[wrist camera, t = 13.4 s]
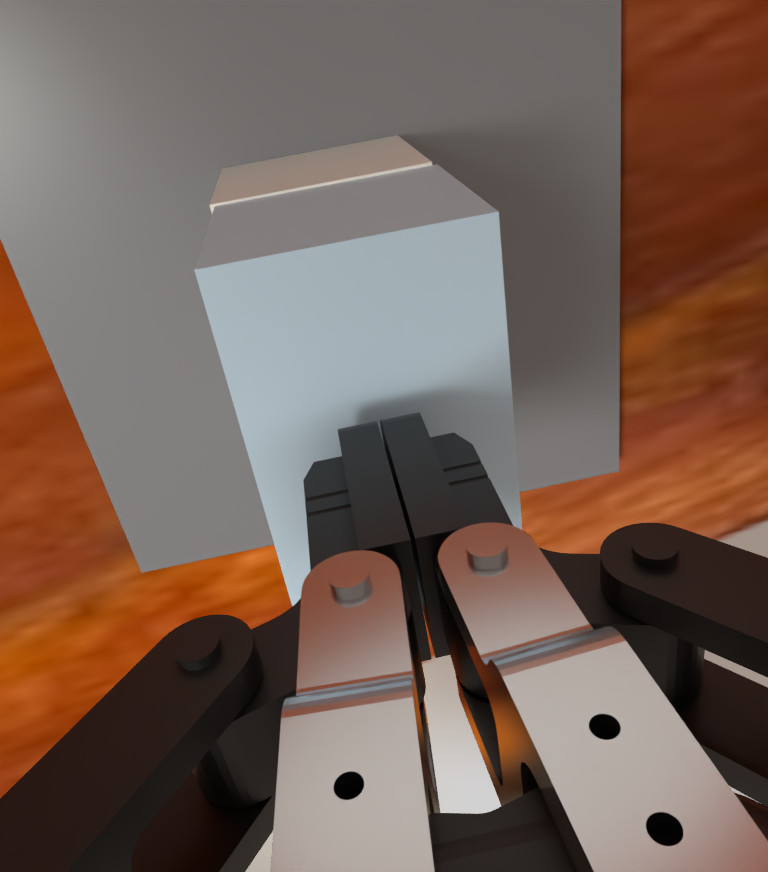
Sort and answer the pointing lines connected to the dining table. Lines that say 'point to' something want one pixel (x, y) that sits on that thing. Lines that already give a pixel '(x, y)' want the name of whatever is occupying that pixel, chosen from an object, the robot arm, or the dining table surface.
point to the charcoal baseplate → (279, 137)
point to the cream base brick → (316, 169)
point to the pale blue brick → (359, 329)
